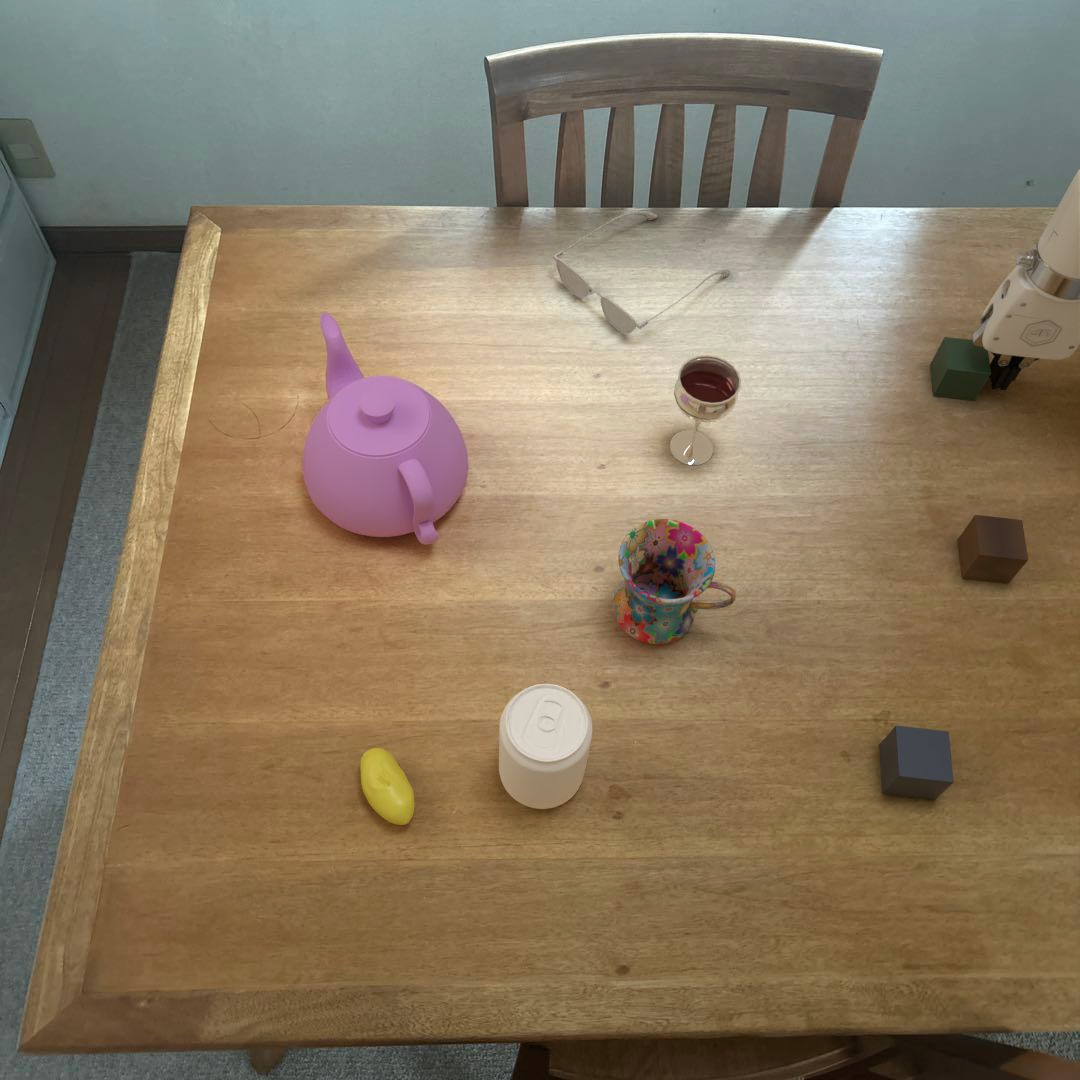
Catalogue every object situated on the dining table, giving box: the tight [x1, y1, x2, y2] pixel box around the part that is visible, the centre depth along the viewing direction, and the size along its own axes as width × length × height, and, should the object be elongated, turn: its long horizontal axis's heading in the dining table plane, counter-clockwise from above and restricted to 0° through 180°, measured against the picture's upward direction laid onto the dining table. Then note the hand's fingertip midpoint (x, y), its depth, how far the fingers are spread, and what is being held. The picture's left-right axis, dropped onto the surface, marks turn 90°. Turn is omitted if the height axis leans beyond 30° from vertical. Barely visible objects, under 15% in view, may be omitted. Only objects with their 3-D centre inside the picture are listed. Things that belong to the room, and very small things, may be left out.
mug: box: [612, 518, 737, 645], centre depth 108 cm, size 12×9×11 cm
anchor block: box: [879, 725, 954, 801], centre depth 102 cm, size 5×5×5 cm
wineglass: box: [669, 354, 742, 466], centre depth 118 cm, size 7×7×12 cm
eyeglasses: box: [552, 210, 731, 336], centre depth 136 cm, size 15×18×4 cm
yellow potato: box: [359, 747, 415, 826], centre depth 99 cm, size 4×8×4 cm, turn 26°
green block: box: [929, 336, 991, 402], centre depth 128 cm, size 5×5×5 cm
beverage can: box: [498, 683, 594, 810], centre depth 98 cm, size 8×8×12 cm
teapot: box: [302, 312, 469, 545], centre depth 114 cm, size 25×18×14 cm
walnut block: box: [957, 514, 1029, 584], centre depth 115 cm, size 5×5×5 cm
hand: (997, 380), depth 129 cm, fingers closed
